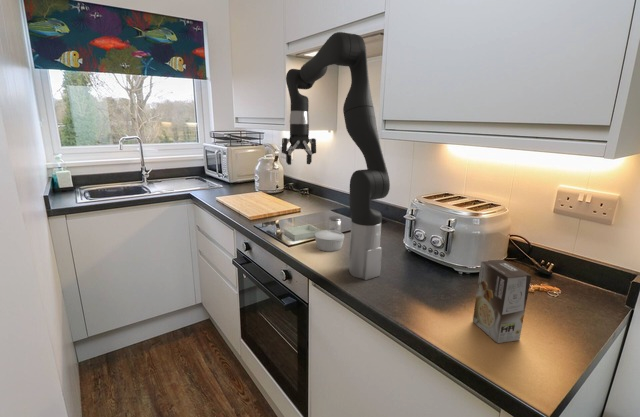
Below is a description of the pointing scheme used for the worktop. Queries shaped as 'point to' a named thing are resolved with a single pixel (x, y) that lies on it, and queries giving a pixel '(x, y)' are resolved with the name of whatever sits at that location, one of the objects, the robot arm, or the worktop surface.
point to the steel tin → (335, 223)
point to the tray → (301, 232)
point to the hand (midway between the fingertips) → (299, 164)
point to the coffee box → (501, 300)
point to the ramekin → (329, 240)
